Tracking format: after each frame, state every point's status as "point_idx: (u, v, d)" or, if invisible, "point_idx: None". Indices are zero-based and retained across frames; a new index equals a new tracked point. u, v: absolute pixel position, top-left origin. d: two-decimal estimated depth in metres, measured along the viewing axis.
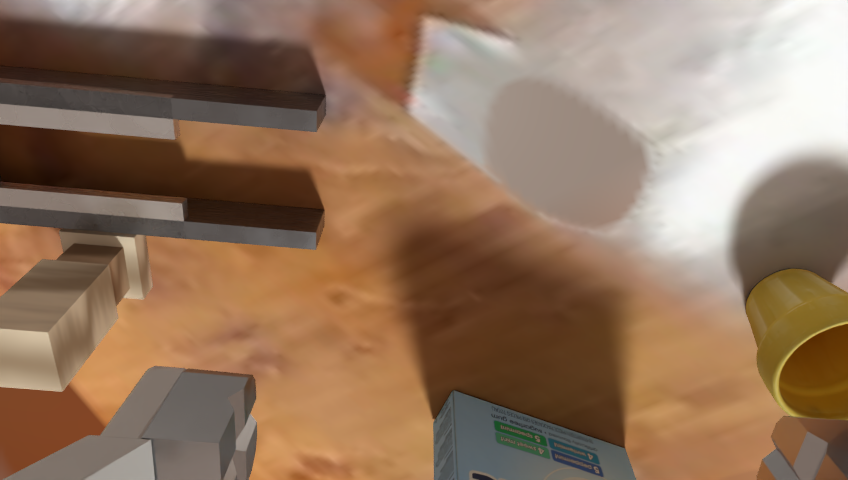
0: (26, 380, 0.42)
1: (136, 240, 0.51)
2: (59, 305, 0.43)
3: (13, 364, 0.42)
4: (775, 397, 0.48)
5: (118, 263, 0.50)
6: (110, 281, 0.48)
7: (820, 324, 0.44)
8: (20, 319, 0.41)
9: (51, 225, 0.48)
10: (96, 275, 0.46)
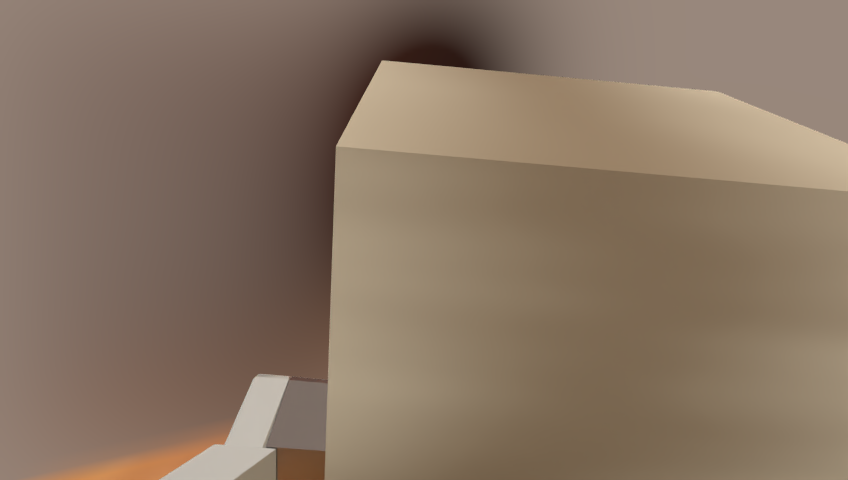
0: (436, 100, 0.07)
1: None
2: None
3: (548, 99, 0.07)
4: None
5: None
6: None
7: None
8: None
9: None
10: None
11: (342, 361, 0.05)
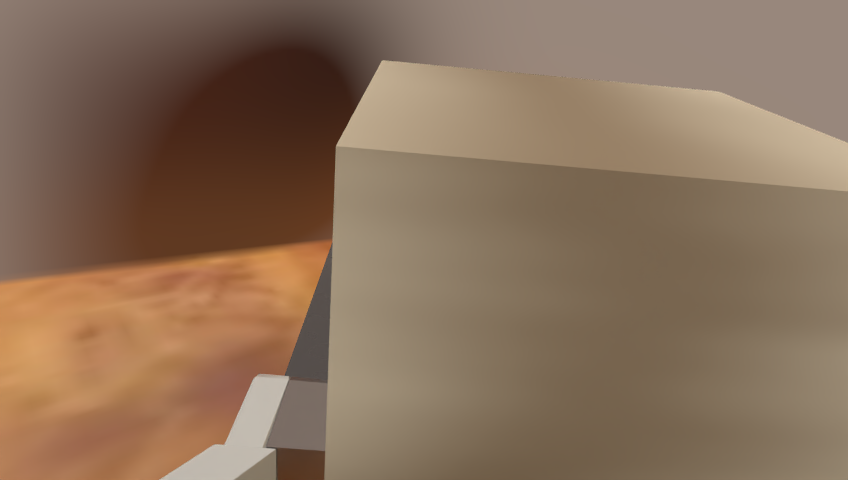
0: (436, 99, 0.07)
1: None
2: None
3: (549, 100, 0.07)
4: None
5: None
6: None
7: None
8: None
9: (319, 290, 0.25)
10: None
11: (342, 362, 0.05)
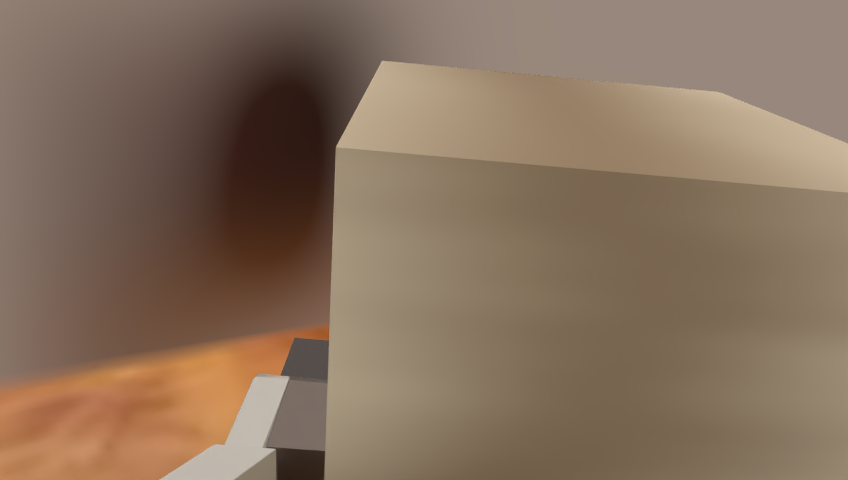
0: (437, 100, 0.07)
1: None
2: None
3: (549, 101, 0.07)
4: None
5: None
6: None
7: None
8: None
9: None
10: None
11: (342, 364, 0.05)
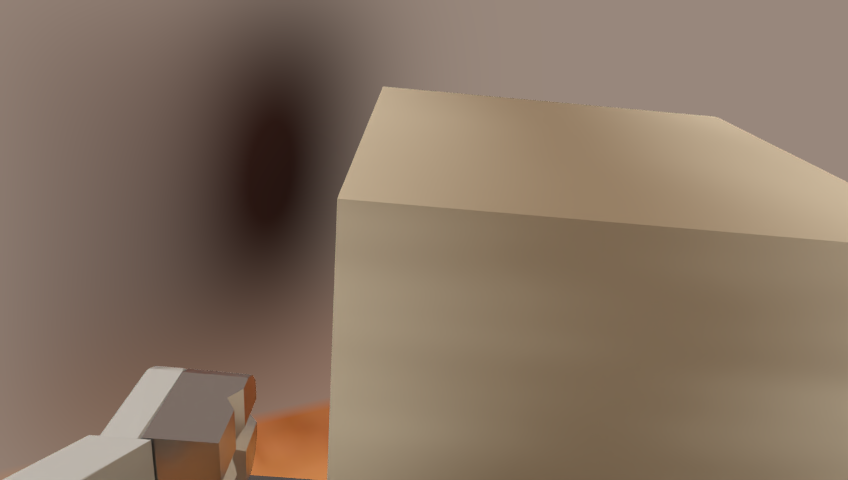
0: (436, 136, 0.07)
1: None
2: None
3: (547, 132, 0.07)
4: None
5: None
6: None
7: None
8: None
9: None
10: None
11: (343, 403, 0.05)
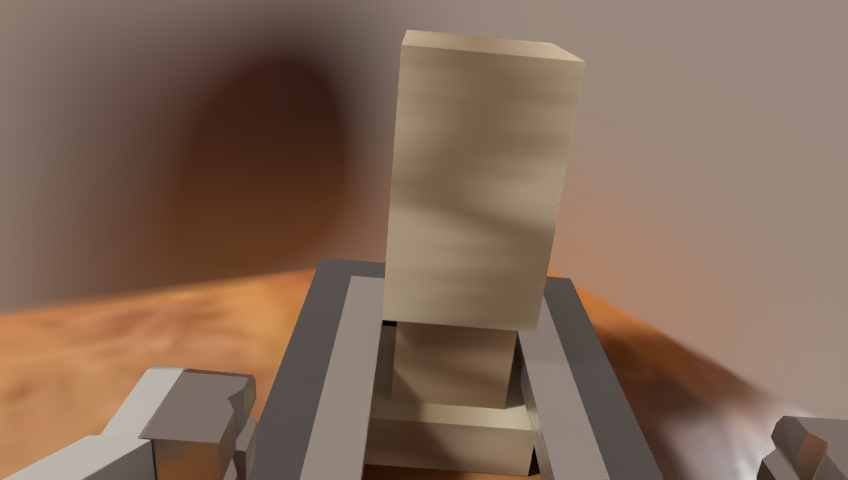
0: (429, 39, 0.19)
1: (522, 435, 0.21)
2: None
3: (471, 41, 0.19)
4: None
5: (484, 380, 0.22)
6: (493, 324, 0.20)
7: None
8: None
9: (291, 350, 0.21)
10: None
11: (400, 113, 0.18)
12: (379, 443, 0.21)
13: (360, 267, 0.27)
